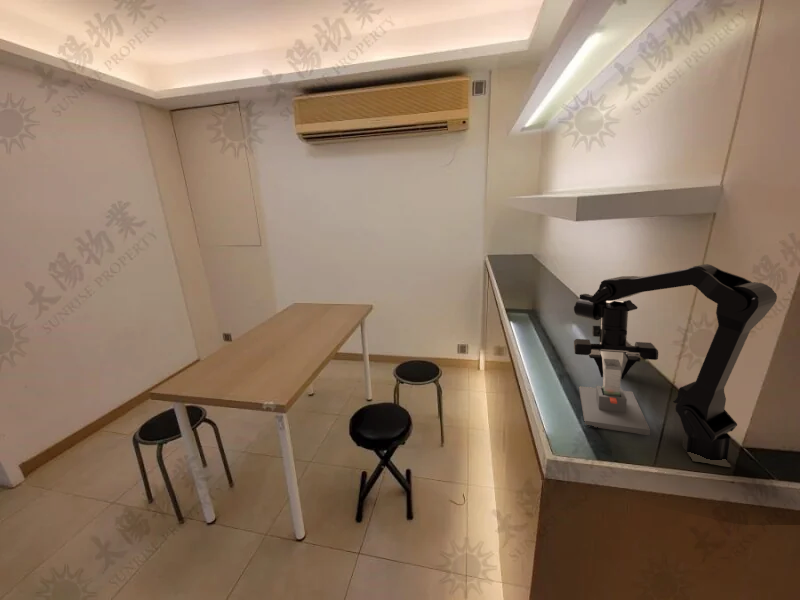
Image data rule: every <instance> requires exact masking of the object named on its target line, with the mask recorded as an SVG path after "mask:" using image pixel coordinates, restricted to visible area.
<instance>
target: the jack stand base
mask: <svg viewBox="0 0 800 600" xmlns="http://www.w3.org/2000/svg"><path fill="white" fill-rule="evenodd" d="M578 390H579V397H580V403H581V409H582V414H583V421H585V422H584V425H585V424H587V425H592V426H594V427H593V428H597V427H598V428H599V429H606V430H611V431H617V432H618V431H619V432H625V433H632V434H638V435H645V436H646V435H647V436H650V434H651V429H650V426H649V425H648V422H647V420H646V418H645V416H644V414H643V411H642V410H641V407H640V405H639V403H638V400H637V398H636V397H635V395H634V392H633V391H627V390H623V388H621V387H620V396H619V397H616V396H607V395H604V392H603V385H602V386H601V385H596V387H590V386H579V389H578ZM598 428H597V429H598Z"/></svg>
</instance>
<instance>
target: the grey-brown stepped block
mask: <svg viewBox="0 0 800 600" xmlns="http://www.w3.org/2000/svg"><path fill="white" fill-rule="evenodd" d="M621 370H622V366H621V364H620V362H619V360H616V359H604V372H603V377H602V387H603V392H604V395H607V396H616V397H619V396H620V388H621Z"/></svg>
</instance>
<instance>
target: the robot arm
mask: <svg viewBox="0 0 800 600" xmlns="http://www.w3.org/2000/svg"><path fill="white" fill-rule="evenodd" d="M598 286H599V288H598V289H597V290H596V292H595V293H593V294H592V295H591V294H589V293H583V294H582V293H581V294H579V298H578V299H577V301H576V302H575V305H574V307H573V311H574V313H575V315H576V316H577V317H581V318H585V319H590V320H594V321H599V320H601V318H602V329H601V325H592V328H591V329H592V330H591V331H592V337H595V338H599V339H598V340H599V343H591V340H590V339H589V338H588V339H585V338H575V339H574V340H573V351H574V354H575V355H581V356H588V357H589V359H592V360H594V361H595V364H596V366H597V368H598V371H599V375H600V378H603V364H602V356H601V351H607V352H623V362H622V370H621V378H620V380H624V378H625V377H626V375H627V374H628V373H629V371H630V369H631V368H632V367H633V366H634V365H635V364H636V362H641V358H642V359H643V360H650V361H651V360H654V361H656V360H658V359H659V349H657V348H656V346H655V345H654V344H653V343H652V342H643V341H635V343H634V345H627V336H628V322H629V321H628V320H629V318H628V316H629V312H631V311H635V310H637V309H638V305H636V304H635V303H633V302H632V300H631V299H629V300H625V301H623V302H618V301H619V300H621V299H622V300H623V299H625V298H630V297H633V296H635V295H640V294H641V293H644V292H652V291H658V290H665V289H673V288H679V287H687V286H693V287H695V288H697V289H698V291H700V293H702V294H703V295H704V296H705V297H706V298H707V299H709V300H710V301H712V302H714V303H716V310H715V314H716V320H717V329H716V331H715V333H714V335H713V338H712V341H711V342H710V345H709V348H708V351H707V353H706V355H705V358H704V360H703V363H702V365H701V367H700V369H699V373H698V375H697V377H696V380H695V381H693V382H690V383H687V384H685V385H683V386H681V387H679V389H678V391H677V396H676V398H675V400H673V401H672V402H673V403H674V404H675V412H676V413H677V415H678V416H679V418H680V421H681V424H682V427H683V430H684V431H683V438H682V443H683V445H682V447H683V450H684V449H685V450H686V451H685V450H684V451H685V453H686V452H691V453H694V454H697V455H700V456H702V457H704V458H706V459H710V460H722V459H726V460H728V461H729V453H730V446H731V436H730V435H729V434H728V433H730V432H733V431H734V429H736V428H737V426H738V423H737V421H735V420H734V418H733V417H732V416H731V415H730V413H728V412H727V410H726V409H725V408H726V401H727V397H726V394H725V393H726V392H725V387H726V385H727V382H728V381H729V378H730V376H731V374H732V371H733V370H734V367H735V365H736V363H737V361H738V358H739V357H740V354H741V352H742V349H743V347H744V346H745V344H746V341H747V338H748V337H749V334H750V332H751V331H752V330H753V328H755V327H756V326H757V324H758V323H760V322H761V321H762V320H763V319H764V318H765V316H766V315H767V314H768V313H769V312H770V310H771V309H772V307H773V306H774V305H775V304H776V302H777V299H778V296H777V293H776V292H775V291H774V289H773V288H772V287H770V286H769V285H768V284H766V283H762V282H756V281H755V282H754V281H753V282H752V281H751V280H748V279H747V278H745V277H743V276H740V275H736V274H733V273H731V272H728V271H724V270H723V269H720V268H718V267H715V266H714V265H712V264H708V263H705V264H699V265H693V266H691V267H688V268H683V269H677V270H671V271H667V272H662V273H656V274H652V275H651V274H650V275H646V276H638V275H630V276H629V275H625V276H617V277H613V278H607V279H606V278H605V279H603V280H602V281H601V282H600V284H599V285H598ZM606 301H612V302H611V303H607V302H606ZM600 343H601V344H600Z"/></svg>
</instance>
